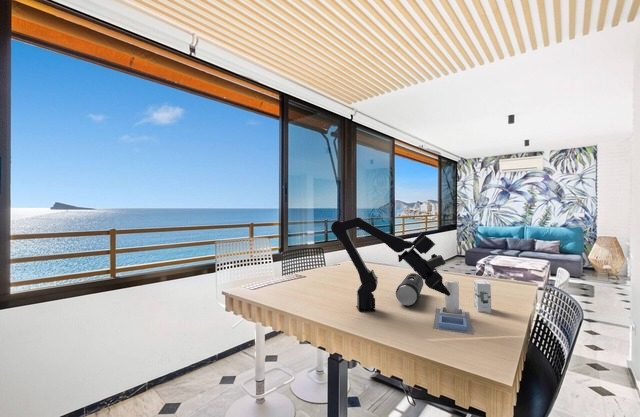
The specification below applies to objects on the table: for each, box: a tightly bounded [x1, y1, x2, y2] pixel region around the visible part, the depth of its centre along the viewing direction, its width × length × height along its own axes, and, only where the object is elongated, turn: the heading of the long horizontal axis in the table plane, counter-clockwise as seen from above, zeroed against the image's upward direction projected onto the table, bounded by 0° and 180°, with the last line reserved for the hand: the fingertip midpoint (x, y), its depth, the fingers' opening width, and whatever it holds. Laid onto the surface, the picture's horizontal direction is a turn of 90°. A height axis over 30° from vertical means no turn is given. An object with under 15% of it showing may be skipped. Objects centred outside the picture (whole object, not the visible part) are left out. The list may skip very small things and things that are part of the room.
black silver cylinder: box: [395, 272, 424, 307], centre depth 131 cm, size 10×28×10 cm, turn 156°
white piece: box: [444, 280, 460, 314], centre depth 109 cm, size 5×5×12 cm
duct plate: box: [432, 306, 474, 335], centre depth 104 cm, size 24×12×2 cm, turn 155°
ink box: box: [473, 279, 492, 314], centre depth 116 cm, size 9×5×12 cm, turn 160°
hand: (447, 291), depth 110 cm, fingers open, 9 cm apart
